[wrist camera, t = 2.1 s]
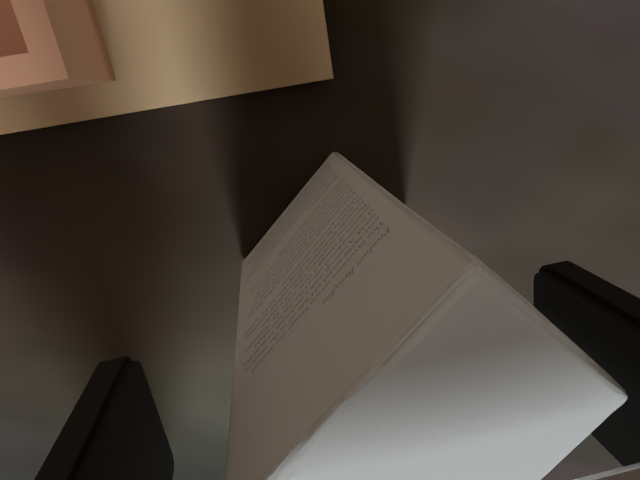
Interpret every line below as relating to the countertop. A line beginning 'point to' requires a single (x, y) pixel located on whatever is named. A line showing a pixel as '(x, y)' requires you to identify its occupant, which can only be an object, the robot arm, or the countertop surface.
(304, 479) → the skincare box
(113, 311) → the countertop surface
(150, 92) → the board
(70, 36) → the pink square tray
